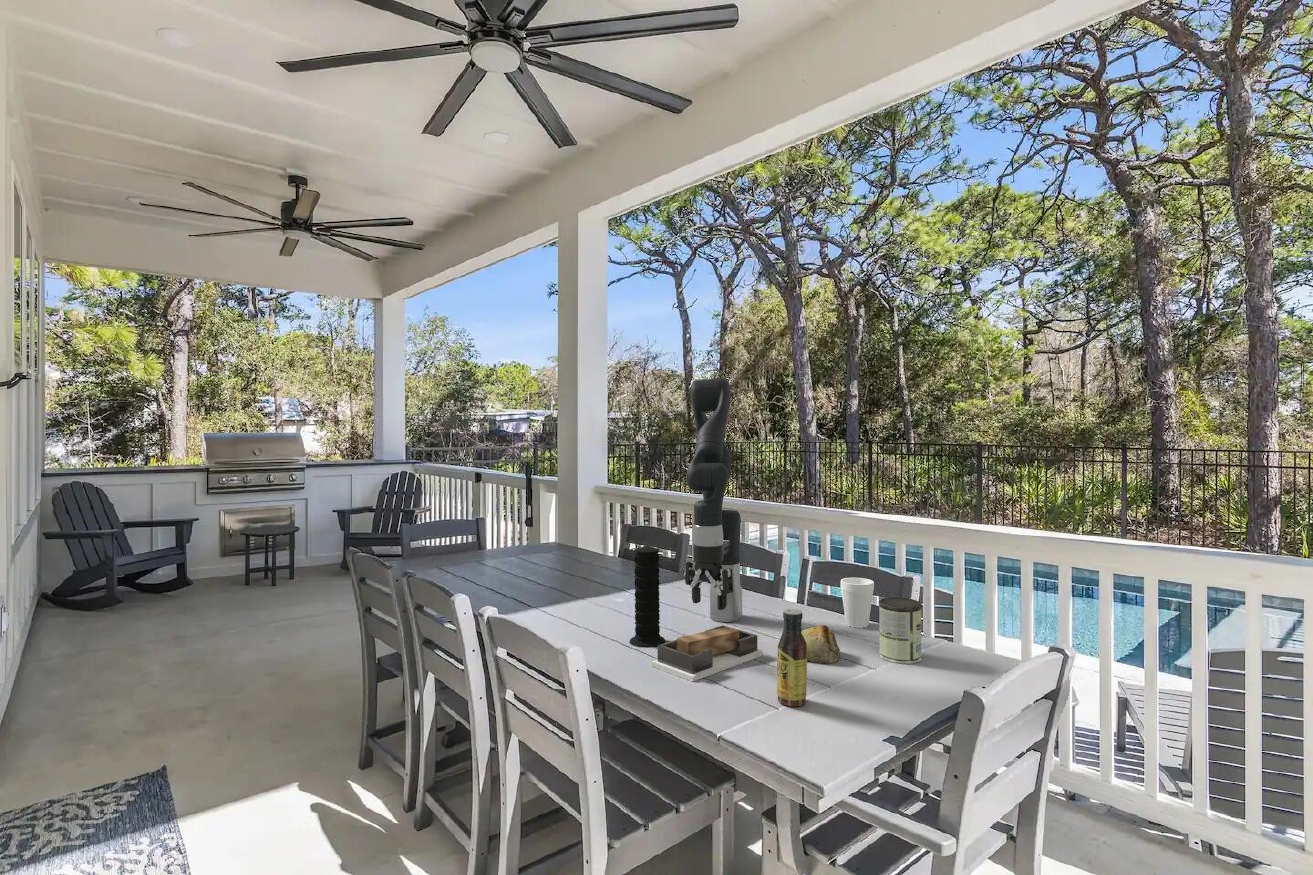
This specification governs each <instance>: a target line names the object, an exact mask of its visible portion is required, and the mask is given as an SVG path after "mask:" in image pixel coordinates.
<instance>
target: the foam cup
mask: <svg viewBox="0 0 1313 875" xmlns="http://www.w3.org/2000/svg"><path fill="white" fill-rule="evenodd" d="M874 582H875V581H873V580H872V579H869V578H865V577H844V578H841V579H840V589H841V598H842V605H843V612H844V618H845V619H844V620H845V625H846V624H847V625H848V626H847V625H846V626H847V627H849V626H851V627H850V628H853V627H859V628H858V629H864V628H863V627H866V628H868V627H869V623H870V617H871V615H870V614H871V609H872V602H873V596H874V595H873V593H874V590H875V583H874ZM867 626H868V627H867Z"/></svg>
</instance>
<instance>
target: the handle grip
mask: <svg viewBox="0 0 1313 875" xmlns="http://www.w3.org/2000/svg"><path fill="white" fill-rule="evenodd" d="M633 550H634V559H633V560H634V578H635V579H634V597H635V598H634V601H635V602H634V609H635V610H634V621H635V622H634V625H635V628H634V632H635V633H634V634H635V635H634V636H632V637H631V638H630V639H629V644H630V645H632V646H634V647H638V648H656V647H657V645H661V644H664V643H667V642H666V639H665V637H663V636H661V634H660V632H661V631H660V623H661V622H660V619H661V617H660V613H661V610H660V607H661V606H660V567H659V566H660V555H659V553H660V548H658V547H654V546H649V545H644V546H640V547H636V548H634V549H633Z"/></svg>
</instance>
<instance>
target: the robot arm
mask: <svg viewBox="0 0 1313 875" xmlns="http://www.w3.org/2000/svg"><path fill="white" fill-rule="evenodd" d="M731 395H732V394H731V387H730V383H729V381H728V380H727V378H706V379H704V378H703V379H697V380H696V379H695V380H694V381H692V383H691V385H690V400H691V407H692V412H693V418H694V425H695V429H696V430H695V431H696V441H695V452H694V456H693V457H692V460H691V461H690V463H689V466H688V467H687V471H686V474H685V481H686V486H688V488H689V489H690V490H691V491H694V492H702V499H701V500H697V501H695V503H694V505H693V531H692V532H693V534H692V535H693V536H692V538H693V540H692V542H693V543H692V544H693V546H692V547H693V548H692V551H693V553H692V554H693V558H692V559H693V560H690V561H686V563H685V579H684V582H685V585H686V586H690V588H691V600H692V603H693V604H699V603H700V602H701V601H702V600H701V598H702V597H701V595H702V594H701V585H702V583H707V584H709V618H710V619H711V620H712V621H715V622H721V623H730V622H737V621H740V620H741V618H742V617H743V587H742V585H741V533H742V532H741V531H742V530H741V529H742V519H741V518H742V517H741V514H740V512H739V511H738V510H734V509H723V502H724V497H725V494H726V488H727V487H728V486H727V485H728V483H729V479H730V476H731V474H732V464H731V455H730V454H731V453H730V450H729V447H728V446H727V445H726V443H725V441H724V434H725V429H726V426H727V421H728V416H729V412H730V408H731V407H730V406H731V401H732V400H731V399H732V396H731ZM707 412H713V413H712V415H711V416H710V417H709V419H708V417H707V414H706V413H707ZM724 541H728V543H727V545H726V546H724Z"/></svg>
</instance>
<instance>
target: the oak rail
mask: <svg viewBox="0 0 1313 875" xmlns="http://www.w3.org/2000/svg"><path fill="white" fill-rule="evenodd" d="M732 628H733V627H730V626H727V627H724V628H719V629H715V630H710V631H706V630H705V631H706V632H705V631H702V632H698V633H693V634H689V635H684V636H678V637H677V639H678V651H681V652H684V653H687V654H689V655H695V654H698V653H701V652H704V651H707V650H712V651H713V655H714V654H718V653H722V652H726V651H730V650H734V649H737V640H739V631H738V630H739V629H737V630H735V629H736V628H734V629H732Z"/></svg>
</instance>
